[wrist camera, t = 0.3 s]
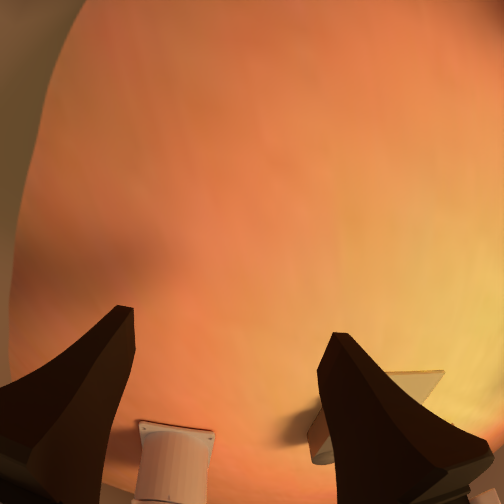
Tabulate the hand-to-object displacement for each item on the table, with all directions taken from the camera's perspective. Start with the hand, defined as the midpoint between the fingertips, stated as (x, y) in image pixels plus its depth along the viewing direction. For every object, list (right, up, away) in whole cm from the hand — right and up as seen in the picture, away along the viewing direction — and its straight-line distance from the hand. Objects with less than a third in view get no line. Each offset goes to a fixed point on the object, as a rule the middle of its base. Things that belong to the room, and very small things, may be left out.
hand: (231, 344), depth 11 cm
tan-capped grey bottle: (+9, -14, +18) cm, 25 cm away
